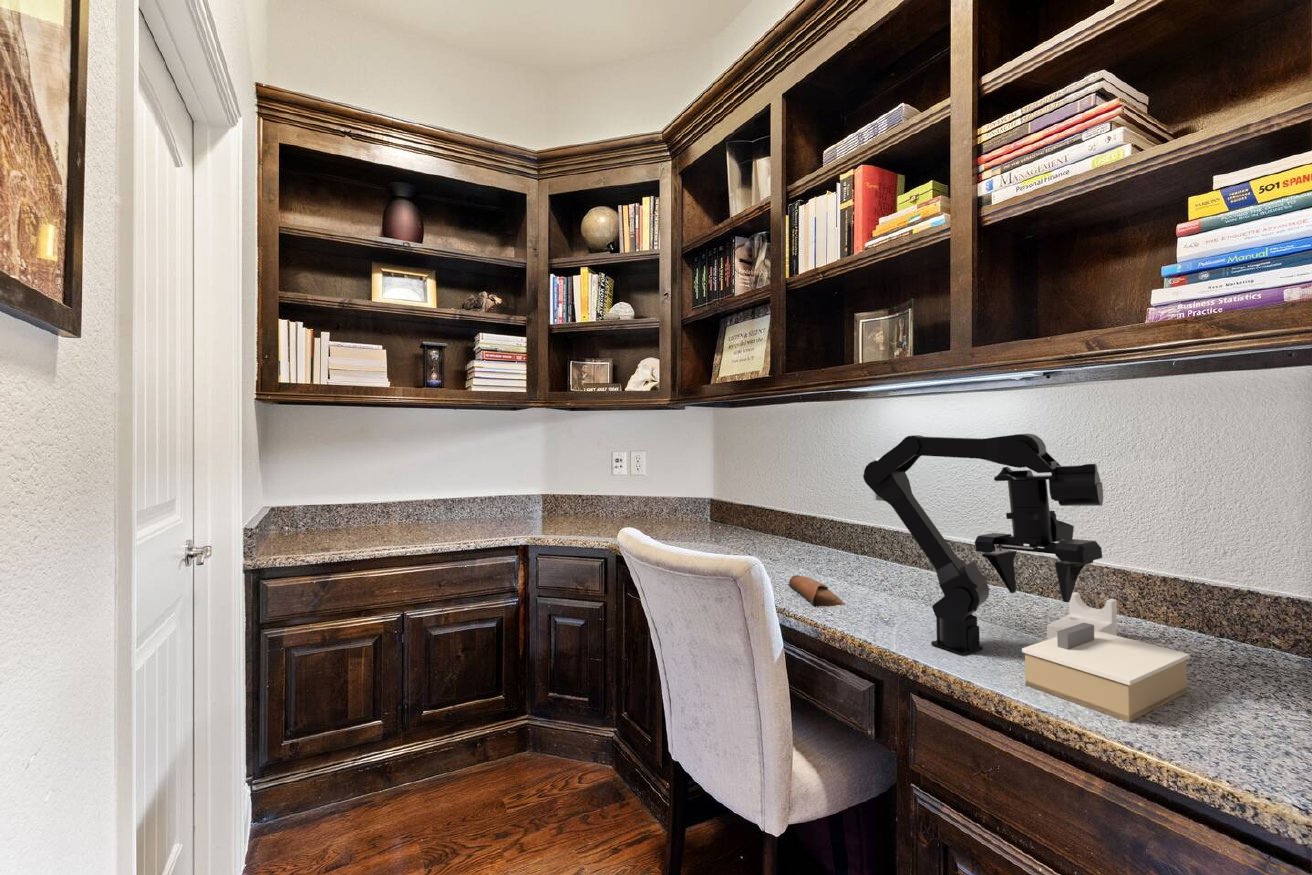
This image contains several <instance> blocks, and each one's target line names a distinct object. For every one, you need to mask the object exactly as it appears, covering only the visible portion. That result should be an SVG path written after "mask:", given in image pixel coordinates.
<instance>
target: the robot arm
mask: <svg viewBox="0 0 1312 875" xmlns="http://www.w3.org/2000/svg"><path fill="white" fill-rule="evenodd" d="M922 456H923V457H924V456H925V457H937V458H938V457H939V458H942V457H943V458H958V459H974V460H975V459H977V460H978V459H979V460H982V461H983V460H984V461H988V462H992V463H994V464H999V465H1003V466H1004V467H1002V468H1001V470H1000V472H999V473H998V474H997V475H995V476H994V477H993V479H994V481H995V482H1006V481H1007V485H1008V486H1007V487H1008V498H1009V506H1010V507H1009V508H1010V512H1006V513H1005V514H1006V520H1011V525H1012V526H1011V527H1012V534H1011V533H1000V532H999V533H998V532H991V533H986V534H980V535H978V536H976V538H975V540H974V549H975V550H974V551H975V552H979V553H981V555H982V558H986V559H987V561H989V563H990V564H991V566H992V567H993V569H994V570H995V571H996V573H997V574H998V576H999V577H1000V579H1001V581H1002V582H1003V584H1004V585H1005V587H1006V589H1007V590H1008V592H1009V593H1010V594H1014V593H1016V592H1017V581H1016V572H1015V565H1014V563H1015V562H1014V561H1015V558H1016V555H1017V551H1020V552H1032V553H1039V554H1040V553H1041V554H1052V555H1055V556H1056V558H1057V559H1058V560H1059V561H1055V562H1054V566H1055V572H1056V575H1057V579H1058V580H1057V582H1058V586H1059V590H1060V594H1061V598H1062V600H1063V603H1069V601H1070V599H1071V596H1072V593H1073V592H1074V589H1075V586H1076V583H1077V580H1078V577H1079V575H1080V573H1081V572H1082V570H1083V568H1084V567H1085V566H1086V565H1089V564H1093V562H1094V561H1095V560H1096V561H1097V560H1100V559H1103V552H1102V547H1101V545H1100V544H1099V543H1098V542H1097V541H1096V540H1091V539H1090V540H1088V539H1087V540H1086V539H1078V538H1077V539H1076V538H1073V537H1074V529H1075V526H1074V525H1073V524H1070V523H1067V522H1064V521H1062V520H1058V519H1057V514H1056V512H1055V510H1050V502H1049V501H1050V500H1049V494H1050V498H1051V500H1052V501H1054V502H1058V504H1059V506H1062V507H1067V506H1068V507H1069V506H1070V507H1073V506H1074V507H1075V506H1077V507H1078V506H1079V507H1081V506H1082V507H1086V506H1088V507H1091V506H1092V507H1093V506H1094V507H1095V506H1097V507H1098V506H1100V507H1101V506H1103V503H1104V488H1103V482H1101V479H1100V474H1099V470H1098V465H1097V464H1096V463H1086V464H1081V465H1063V466H1062V465H1061V464H1060V463H1059V462H1058V461H1057V460H1056V459H1055V458H1053V457H1052V455H1050V454H1049V452H1047V447H1046V444H1045V441H1044V440H1043V439H1042V438H1040V437H1039V436H1038V435H1036V434H1035V433H1034V434H1033V433H1019V434H1016V433H1015V434H1011V435H1002V436H994V437H987V438H979V437H978V438H976V437H975V438H974V437H973V438H972V437H948V436H947V437H943V436H923V435H919V434H917V435H916V434H913V435H908V436H905V437H904V438H903V439H902V441H900V442H899V443H898V444H897V445H896V446H894V447H892V449H890V450H889V451H887V452H886V453H885V454H884V455H882V456H881V457H880V458H879V459H878V460H873V461H871V462H869V463H868V464H867V465H866V466H865V468H864V471H863V474H862V477H863V481H864V482H865V484H866V485H867V486H868V487H869V488H870V490H871V491H873V493H875V495H877V496H878V497H879V498H880V499H882V500H883V501H884V502H886V503H888V505H890V506H891V507H892V508H893V510H894V512H895V513H896V514H897V516H898V518H899V520H901V522H902V523H903V525H904V526H905V527H906V529H907V530H908V532H909V533H910V535H911V536H912V538H913V539H914V541H916V543H917V545H918V546H919V547H920V549H921V551H922V552H923V553H924V555H925V556H926V558H927V559H928V561H929V562H930V563H931V565H932V566H933V568H934V569H935V572H936V573H935V574H936V576H937V581H938V584H939V588H940V590H941V591H942V594H943V597H941V598H939V600H938V601H936V602H935V603H933V604H932V606H931V608H932V611H933V612H934V613H933V614H934V616H935V617H936V618H935V620H936V621H935V622H936V628H935V629H936V640H933V641H931V642H930V644H931V645H932V646H934V647H936V648H940V649H944V650H945V651H948V652H951V653H954V654H958V655H960V656H961V655H962V656H963V655H967V654H969V653H973V652H976V651H980V650H982V649H983V648H984V646H983V645H982V644H980V642H981V641H980V640H981V639H980V626H979V625H978V617H977V616H975V615H974V614H973V613H975V612H977V610H978V608H979V607H980V606H981V605H983V604H984V603H985V602H986V601H987V600H988V598H989V595H990V587H989V584H988V583H987V582H988V581H989V578H987V577H986V576H985V575H984V574H983V573H982V572H981V570H980V568H979V566H978V565H977V563H976V561H974V560H972V561H970V562H968V563H966V561H963V560H962V559H961V558H959V557H958V556H957V555H956V552H955V551H953V549H952V547H951V546H950V545H949V543H948V542H947V541H946V539H945V538H944V536H943V535H942V534H941V532H940V531H939V529H938V527H936V525H935V524H934V523H933V521H932V519H931V518H930V517H929V515H928V514H927V513H926V511H925V509H924V508H923V507H922V505H921V504H920V502H919V501H918V500H917V498H916V497H915V496H914V494H913V492H912V491H913V490H912V486H911V483H910V480H909V477H908V475H907V473H906V472H908V471H909V470H910V469H911V468H912V467H913V466H914V465H915V463H916V462H917V461H918V460H919V458H921V457H922ZM1010 467H1013V468H1017V469H1018V468H1020V469H1022V468H1027V469H1029V470H1027V469H1026V470H1012V469H1011V468H1010ZM1033 472H1034V473H1037V474H1047V475H1034V474H1033ZM1048 473H1049V475H1048ZM1047 480H1048V483H1047ZM1048 487H1049V492H1048ZM1048 493H1049V494H1048Z"/></svg>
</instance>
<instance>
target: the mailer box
mask: <svg viewBox="0 0 1312 875" xmlns="http://www.w3.org/2000/svg"><path fill="white" fill-rule="evenodd" d="M1024 656H1025V658H1024V662H1025V663H1024V665H1025V666H1024V669H1025V671H1024V672H1025V673H1024V674H1025V676H1024V677H1025V686H1026V687H1029V688H1032V689H1035V690H1036V691H1040V692H1044V693H1046V694H1048V695H1052V696H1055V697H1057V698H1059V699H1062V700H1066V701H1068V702H1070V703H1074V704H1077V705H1080V706H1082V707H1084V708H1089V709H1091V710H1094V711H1095V712H1096V711H1097V712H1099V713H1101V714H1105V715H1107V716H1110V717H1113V718H1117V719H1119V720H1121V721H1124V722H1127V723H1130V722H1132V721H1134V720H1136V719H1138V718H1140V717H1142V716H1144V715H1145V714H1147V713H1149V712H1151V711H1153V710H1155V709H1157V708H1160V707H1161V706H1163V705H1165V704H1167V703H1169V702H1171V701H1173V700H1175V699H1177V698H1179V697H1180V696H1183V695H1184V694H1187V693H1188V672H1187V671H1188V667H1187V666H1188V664H1187V660H1188V659H1187V660H1185V661H1182V662H1180V663H1178V664H1176V665H1174V666H1171V667H1169V668H1167V669H1165V670H1163V671H1160V672H1158V673H1156V674H1154V675H1152V676H1150V677H1147V678H1145V679H1143V680H1141V681H1139V682H1136V683H1134V684H1132V685H1127V684H1123V683H1120V682H1117V681H1114V680H1110V679H1107V678H1104V677H1101V676H1098V675H1094V674H1091V673H1088V672H1085V671H1081V670H1078V669H1075V668H1072V667H1068V666H1065V665H1062V664H1059V663H1056V662H1052V661H1049V660H1046V659H1043V658H1039V657H1036V656H1033V655H1030V654H1026V653H1024Z"/></svg>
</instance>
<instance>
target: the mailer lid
mask: <svg viewBox="0 0 1312 875" xmlns="http://www.w3.org/2000/svg"><path fill="white" fill-rule="evenodd" d="M1021 652H1022V653H1024V654H1030V655H1033V656H1036V657H1039V658H1043V659H1046V660H1049V661H1052V662H1056V663H1059V664H1062V665H1065V666H1068V667H1072V668H1075V669H1078V670H1081V671H1085V672H1088V673H1091V674H1094V675H1098V676H1101V677H1104V678H1107V679H1110V680H1114V681H1117V682H1120V683H1123V684H1127V685H1132V684H1134V683H1136V682H1139V681H1141V680H1143V679H1145V678H1147V677H1150V676H1152V675H1154V674H1156V673H1158V672H1160V671H1163V670H1165V669H1167V668H1169V667H1171V666H1174V665H1176V664H1178V663H1180V662H1182V661H1185V660H1189V659H1190V658H1191V654H1190V653H1187V652H1182V651H1181V650H1180V651H1179V650H1175V649H1171V648H1167V647H1163V646H1159V645H1156V644H1151V643H1147V642H1144V641H1139V640H1135V639H1132V638H1128V637H1124V636H1123V637H1122V636H1120V635H1117V636H1116V635H1112V634H1108V633H1104V632H1100V631H1096V630H1094V625H1092V624H1088V623H1081V624H1078V625H1075V626H1072V627H1069V628H1066V629H1063V630H1060V631H1057V637H1054V638H1051V639H1046V640H1043V641H1040V642H1038V643H1037V642H1036V643H1034V644H1031V645H1028V646H1025V647H1022V648H1021Z"/></svg>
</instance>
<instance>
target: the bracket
mask: <svg viewBox="0 0 1312 875" xmlns="http://www.w3.org/2000/svg"><path fill="white" fill-rule="evenodd" d="M1117 611H1118V610H1117V599H1116V598H1115V599H1114V598H1109V599H1107V600H1105V604H1104V606H1103V607H1102V608H1099V609H1098V608H1093V607H1091V606H1089V605H1087V604H1086V603H1085V602H1084V601H1083V600H1082V598H1081V594H1080V592H1076V591H1073V593H1072V596H1071V599H1070V601H1069V602H1068V614H1067V615H1065V616H1063V617H1061V618H1058V619H1056V620H1054V621H1053V622H1051V623H1049V624H1047V625H1046V640H1048V639H1051V638H1054V637H1057V631H1060V630H1063V629H1066V628H1069V627H1072V626H1075V625H1078V624H1081V623H1088V624H1092V625H1094V630H1096V631H1100V632H1104V633H1108V634H1112V635H1116V636H1118V634H1117V633H1118V626H1117V625H1118V624H1117V622H1118V621H1117V620H1118V618H1117V617H1118V614H1117Z"/></svg>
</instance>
